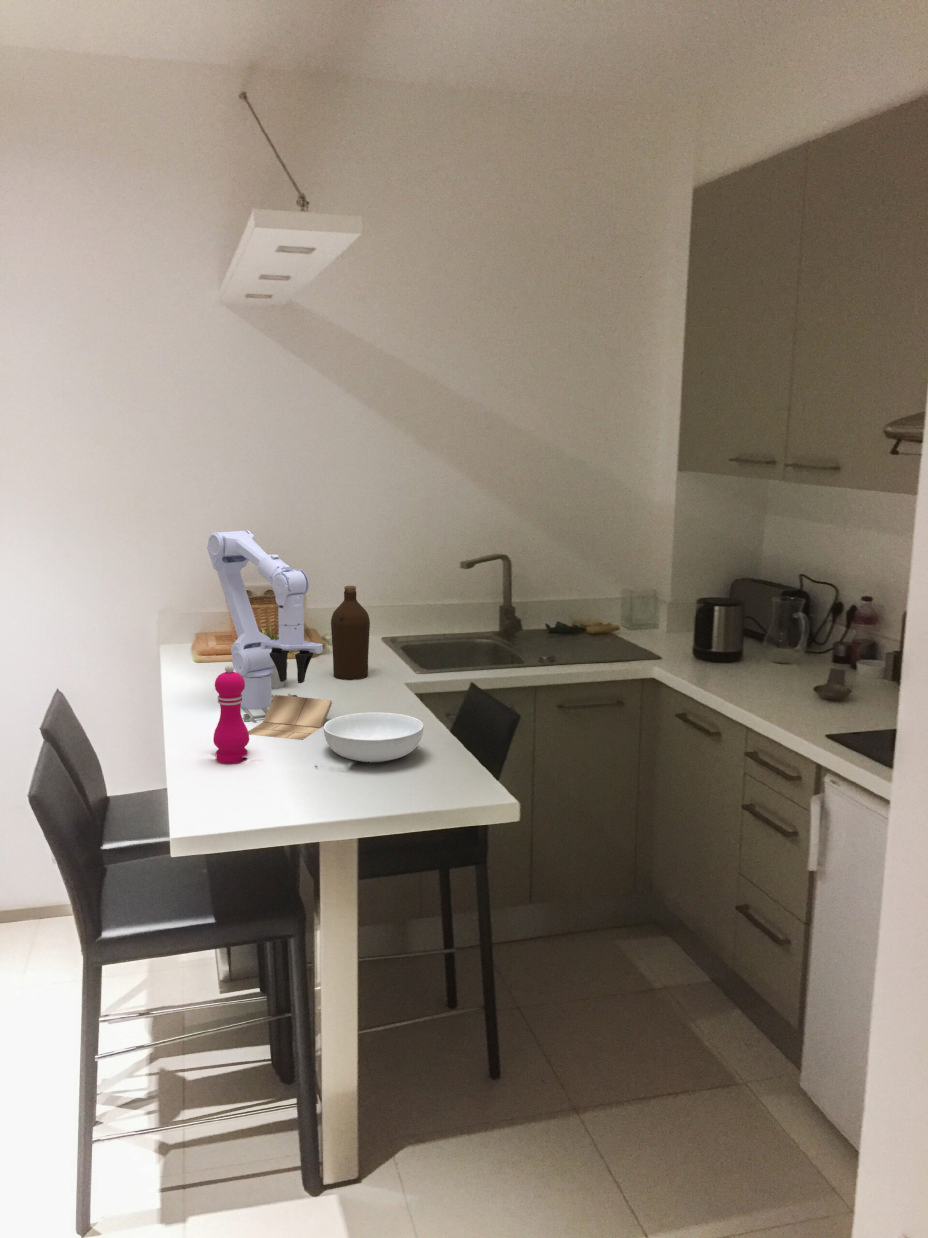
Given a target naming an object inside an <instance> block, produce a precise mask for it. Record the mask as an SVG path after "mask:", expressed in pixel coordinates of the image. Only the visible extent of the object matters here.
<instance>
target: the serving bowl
mask: <svg viewBox="0 0 928 1238" xmlns="http://www.w3.org/2000/svg"><path fill="white" fill-rule="evenodd" d="M424 727H425V726H424V723H423V722H422V721H421V720H420V719H418V718H416V717H413V716H410V715H407V714H401V713H394V712H382V711H381V712H376V711H374V712H360V713H359V712H358V713H351V714H344V715H341V716H336V717H334V718H331V719H329V720H327V721H325V722H324V725H323V733H324V738H325V741H326V744H327V745H328V746H329V747H330V749H331V750H332V751H333V752H334V753H335V754H337V755H339V756H341V757H343V758H345V759H348V760H353V761H357V762H362V763H368V762H369V764H370V763H374V764H375V763H384V762H389V761H392V760H396V759H399V758H402V757H405V756H407V755H408V754H410V753H411V752H413V751H414V750H415V749H416V748H417V746H418V745H419V744H420V742H421V740H422V736H423V733H424Z"/></svg>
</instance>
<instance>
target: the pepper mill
mask: <svg viewBox="0 0 928 1238" xmlns="http://www.w3.org/2000/svg"><path fill="white" fill-rule="evenodd" d="M224 670H225V671H224V672H222V673H220V674H219V675H217V676H216V678H215V681H214V690H215V691H216V692H217V693H218V695H217V704H218V705H219V707H220V715H219V719H218V722H217V724H216V727H215V729H214V733H213V739H212V740H213V744H214V746H215V747H216V748H217V750H216V753H215V754H216V755H215V756H216V758H215V759H216V761H217V762H218V763H221V764H224V765H225V764H228V765H229V764H231V765H233V764H239V763H242V762H245V761H247V760H248V757H245V756H247V754H248V749H247V748H246V747H247V746H248V744H249V742H250V735H249V733H248V731H249V730H248V727H247V726H246V724H245V722H244V720H243V717H242V716H243V715H242V713H241V712H242V710H241V709H242V708H241V703H242V702H243V699H242V697H243V695H242V694H241V693H242V691H243V690H244V688H245V681H244V679H243V677H242V676H241V675H240V674H239V673H237V672H236V671H234V670H235V669H234V667H233V664H226V665H225V667H224Z"/></svg>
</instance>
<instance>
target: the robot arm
mask: <svg viewBox="0 0 928 1238" xmlns="http://www.w3.org/2000/svg"><path fill="white" fill-rule="evenodd" d="M206 548H207V552H208V555H209V559H210V562H211V565H212V568H213V569H214V570H215V571H216V572H217V573H216V574H217V576H218V580H219V581H220V582H219V583H220V586H221V589H222V591H223V596H224V599H225V601H226V604H227V607H228V611H229V614H230V618H231V621H232V623H233V626H234V630H235V634H236V636H237V639H236V640H235V641H234V642H233V643H232V646H231V648H230V653H231V657H232V659H231V663H232V664H231V665H232V666H233V667H234V670H235V671H234V672H236V673H239V674H240V675H241V676H242V677H243V679H244V681H245V688H244V690H243V691H242V693H241V694H242V695H243V697H242V699H243V702H242V703H241V708H240V709H247V710H262V709H263V710H264V709H266V708H267V709H269V707H270V705H271V703H272V701H273V698H272V689H271V673H274V669H275V668H276V669H277V671H278V675H279V679H280V682H283V681H285V682H286V681H287V679H288V678H287V677H288V665H287V663H288V654H289V653H288V651H292V652H298V653H296V654H294V657H295V662H296V669H297V673H296V674H297V684H303V683H304V682H305V679H306V674H307V670H308V667H309V665H310V662H311V661H312V658H313V656H314V655H315V654H317V655H318V654H322V653H323V652H324V651H323V650H324V649H323V648H324V647H323V643H318V642H317V643H316V642H311V641H306V640H305V616H304V615H305V613H304V612H305V609H304V608H305V607H304V605H305V603H304V600H305V598H304V595H306V594H307V593H308V590H309V586H310V584H309V583H310V582H309V577H308V576H307V573H306V572H305V571H304V570H303V569H293V568H291V566H290V565H288V564H287V563H285V562H284V561H283V560H282V559H281V558H280V556H279V555H278V554H268V553H266V552H265V551H264V550H263V548H262V547H261V546H260V545H259V544H257V541H256V537H255V535H254V533H252V532H251V531H249V529H243V530H233V531H232V530H231V531H220V532H219V531H213V532H211V533H210V536H209V537H208V543H207V547H206ZM249 561H250V562H251V563H252V564H254V565H255V566H257V571H258V574H259V575H260V576H261V577H262V578H263V579H265V580H266V582H268V583H269V584H271V587H272V590H273V593H274V596H275V602H276V604H277V606H278V607H277V608H278V609H277V610H278V611H277V612H278V613H277V617H278V633H279V640H276V639H274V640H271V639H270V638H269V637H268V636H266V635H264V634H263V632H261V631H260V630H259V626H258V623H257V621H256V618H255V614H254V611H253V608H252V605H251V603H250V599H249V598H250V597H249V596H248V593H247V589H246V587H245V583H244V580H243V577H242V574H241V571H242V569H244V568H245V567H246V566H247V564H248V563H249Z"/></svg>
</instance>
